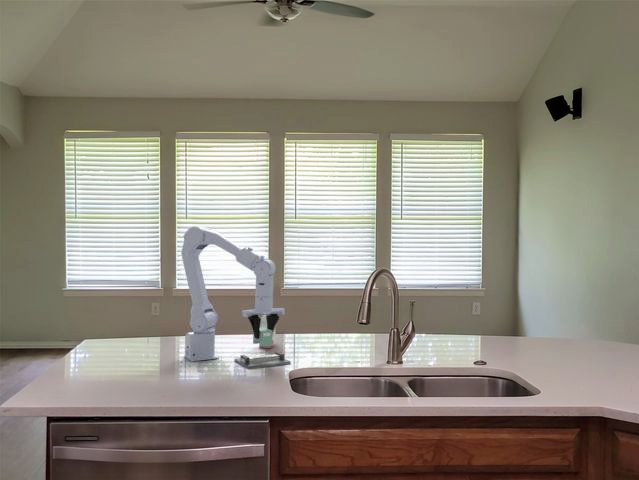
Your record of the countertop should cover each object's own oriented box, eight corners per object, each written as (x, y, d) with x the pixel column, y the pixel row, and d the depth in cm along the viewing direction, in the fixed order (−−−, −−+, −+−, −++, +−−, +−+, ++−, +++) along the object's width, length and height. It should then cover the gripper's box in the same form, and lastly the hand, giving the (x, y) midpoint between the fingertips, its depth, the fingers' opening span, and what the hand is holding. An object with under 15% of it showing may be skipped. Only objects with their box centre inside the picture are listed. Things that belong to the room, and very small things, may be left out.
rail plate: (248, 368, 170) (248, 360, 170) (234, 361, 179) (234, 353, 179) (290, 363, 178) (290, 355, 178) (275, 356, 187) (275, 349, 187)
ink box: (272, 348, 200) (273, 316, 200) (259, 348, 200) (259, 315, 200) (275, 343, 209) (276, 312, 208) (262, 343, 209) (263, 312, 209)
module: (261, 346, 175) (261, 331, 175) (253, 343, 180) (253, 328, 180) (272, 345, 177) (272, 330, 177) (263, 342, 182) (264, 327, 182)
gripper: (248, 298, 171) (247, 341, 171) (289, 296, 179) (288, 338, 179) (239, 296, 177) (238, 337, 177) (279, 294, 185) (278, 334, 185)
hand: (263, 337), depth 178 cm, fingers closed on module, 4 cm apart
